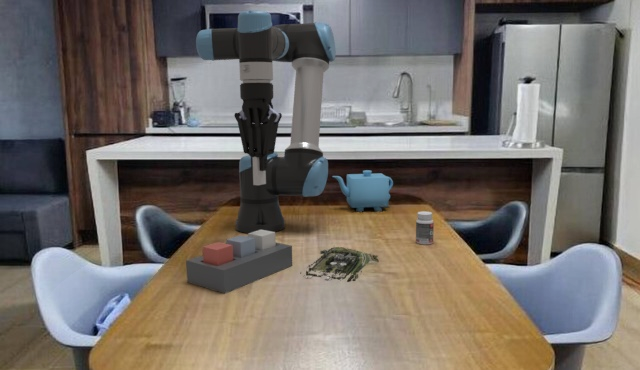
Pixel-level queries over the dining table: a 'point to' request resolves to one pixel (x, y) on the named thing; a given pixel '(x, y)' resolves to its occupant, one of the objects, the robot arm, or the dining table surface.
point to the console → (239, 268)
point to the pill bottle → (424, 228)
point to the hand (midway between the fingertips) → (259, 184)
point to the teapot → (366, 190)
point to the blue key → (242, 245)
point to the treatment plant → (341, 263)
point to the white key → (263, 239)
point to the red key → (217, 253)
